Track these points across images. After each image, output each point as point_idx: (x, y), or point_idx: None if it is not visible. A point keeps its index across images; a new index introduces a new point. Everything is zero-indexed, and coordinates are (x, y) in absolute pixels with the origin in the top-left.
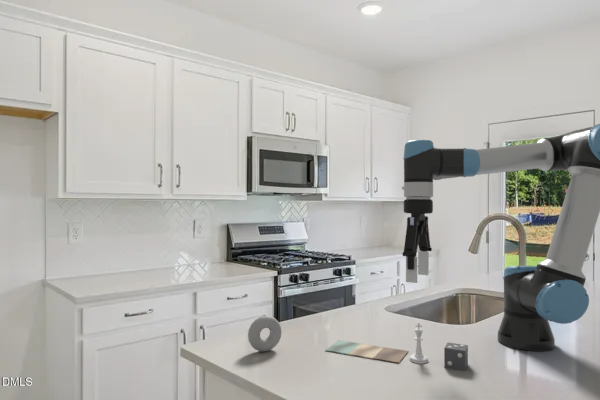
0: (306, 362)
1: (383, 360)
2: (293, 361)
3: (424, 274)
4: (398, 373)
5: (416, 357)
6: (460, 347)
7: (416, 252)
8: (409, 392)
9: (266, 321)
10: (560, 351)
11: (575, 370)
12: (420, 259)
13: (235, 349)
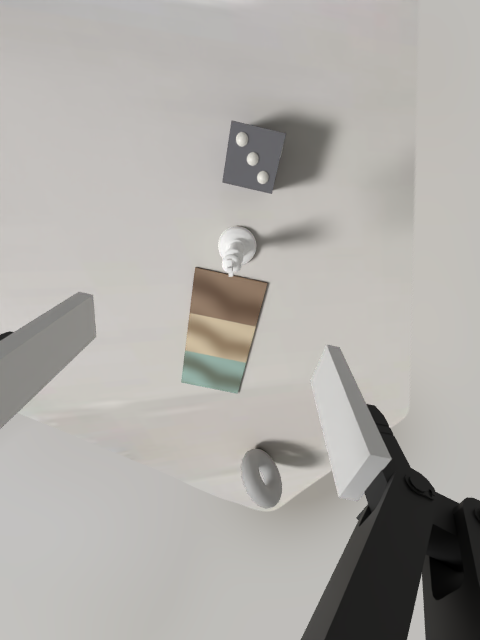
0: (293, 406)
1: (259, 309)
2: (292, 419)
3: (92, 311)
4: (317, 281)
5: (247, 252)
6: (258, 146)
7: (395, 494)
8: (404, 261)
9: (269, 496)
10: None
11: None
12: (41, 377)
13: None
